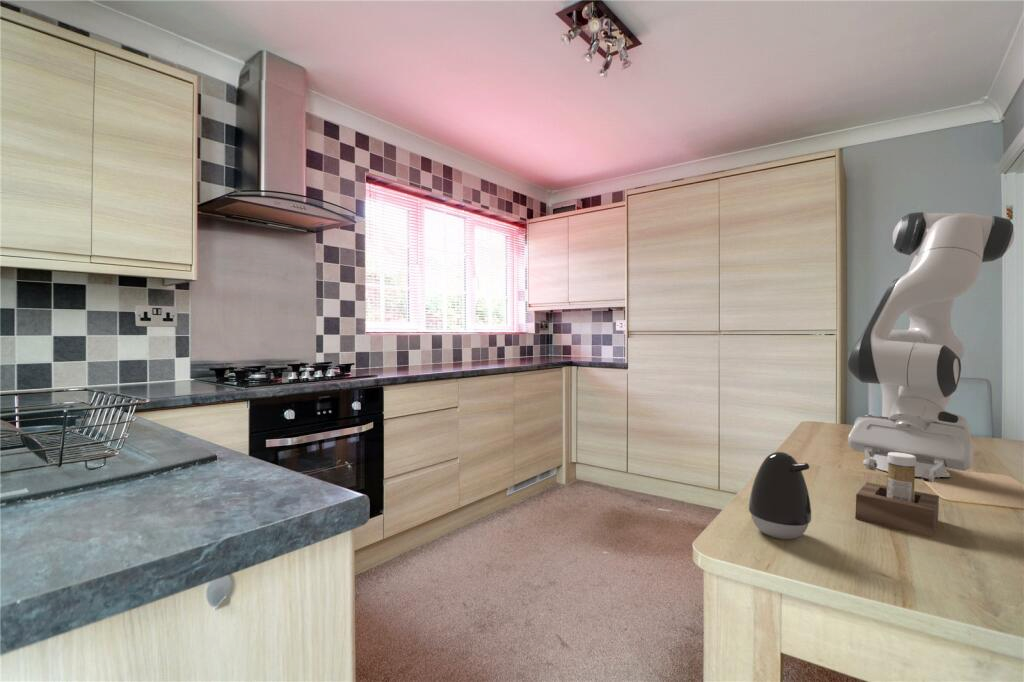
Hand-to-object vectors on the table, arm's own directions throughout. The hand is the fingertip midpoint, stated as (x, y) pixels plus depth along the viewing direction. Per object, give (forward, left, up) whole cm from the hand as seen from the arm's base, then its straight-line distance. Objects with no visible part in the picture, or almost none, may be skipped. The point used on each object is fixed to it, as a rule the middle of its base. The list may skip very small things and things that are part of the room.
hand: (897, 474), depth 100 cm
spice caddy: (-1, 0, -9) cm, 9 cm away
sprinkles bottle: (0, +1, -10) cm, 10 cm away
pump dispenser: (+25, -14, -10) cm, 31 cm away
